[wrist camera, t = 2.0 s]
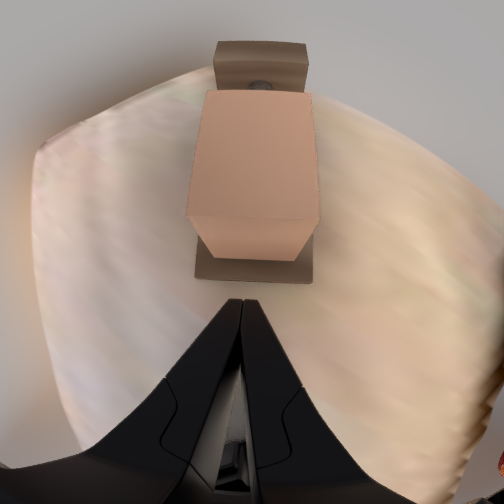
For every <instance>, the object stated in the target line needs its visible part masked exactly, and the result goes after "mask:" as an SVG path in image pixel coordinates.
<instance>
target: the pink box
mask: <svg viewBox="0 0 504 504" xmlns="http://www.w3.org/2000/svg"><path fill="white" fill-rule="evenodd" d="M186 217H187V218H188V220H189V221H190V223H191V224H192V226H193V227H194V229H195V230H196V232H197V233H198V235H199V236H200V238H201V239H202V240H203V242H204V243H205V245H206V246H207V248H208V249H209V251H210V252H211V254H212V255H213V257H214V258H230V259H254V260H279V261H294V260H295V259H296V257H297V256H298V254H299V253H300V251H301V250H302V248H303V247H304V245H305V243H306V242H307V240H308V239H309V237H310V236H311V234H312V232H313V231H314V229H315V228H316V226H317V225H318V223H319V221H320V207H319V186H318V169H317V155H316V143H315V132H314V121H313V112H312V103H311V94H310V93H300V92H287V91H270V90H210V91H207V94H206V98H205V103H204V108H203V113H202V118H201V123H200V128H199V133H198V139H197V144H196V150H195V156H194V162H193V168H192V174H191V181H190V188H189V195H188V202H187V209H186Z"/></svg>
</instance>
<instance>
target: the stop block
mask: <svg viewBox="0 0 504 504" xmlns="http://www.w3.org/2000/svg"><path fill="white" fill-rule="evenodd" d="M213 65H214V71H215V77H216V83H217V89H218V90H248V86H249V84H250V83H251V82H253V81H256V80H264V81H267V82H269V83H270V84H271V85H272V87H273V91H287V92H300V93H304V88H305V81H306V76H307V71H308V66H309V62H308V56H307V50H306V44H301V43H290V42H274V41H219V42H218V44H217V48H216V51H215V55H214V59H213ZM195 278H197V279H206V280H225V281H245V282H269V283H299V284H311V283H312V278H313V243H312V234H311V236H310V237H309V239H308V240H307V242H306V243H305V245H304V247H303V248H302V250H301V251H300V253H299V254H298V256H297V257H296V259H295V260H294V261H279V260H254V259H230V258H214V257H213V255H212V254H211V252H210V251H209V249H208V248H207V246H206V245H205V243H204V242H203V240H202V239H201V238H200V236H199V235H198V244H197V255H196V267H195Z"/></svg>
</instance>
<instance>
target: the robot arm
mask: <svg viewBox="0 0 504 504" xmlns="http://www.w3.org/2000/svg"><path fill="white" fill-rule="evenodd" d="M240 365H241V385H242V398H243V411H244V423H245V435H246V440H243V441H241V442H236V441H234V442H232V443H229V444H226V445H224V444H225V439H226V435H227V430H228V425H229V421H230V416H231V411H232V406H233V402H234V397H235V392H236V387H237V383H238V378H239V372H240ZM165 377H166V378H163V379H162V380H161V382H160V383H159V384H158V385H157V386H156V388H155V389H154V390H153V391H152V392H151V393H150V394H149V395H148V396H147V398H146V399H145V400H144V401H143V402H142V403H141V404H140V405H139V406H138V407H137V408H136V409H135V410H134V411H132V412H131V413H130V414H129V415H128V416H127V417H126V418H125V419H124V420H123V421H122V422H120V423H119V424H118V425H117V426H116V427H115V428H114V429H113V430H111V431H110V432H109V433H108V434H107V435H106V436H105V437H103V438H102V439H101V440H100V441H99V442H98V443H96V444H95V445H94V446H92V447H91V448H89V449H87V450H85V451H83V452H81V453H79V454H76V455H73V456H69V457H66V458H62V459H58V460H54V461H50V462H46V463H42V464H38V465H33V466H28V467H23V468H16V469H11V468H9V467H7V466H6V465H4V464H2V463H1V462H0V504H417V503H415V502H413V501H411V500H409V499H407V498H405V497H403V496H401V495H399V494H397V493H396V492H394V491H392V490H390V489H388V488H387V487H385V486H383V485H381V484H380V483H378V482H377V481H375V480H374V479H372V478H371V477H370V476H369V475H368V474H366V473H365V472H364V471H363V470H362V469H361V467H360V466H359V465H358V464H357V463H356V462H355V460H354V459H353V458H352V457H351V455H350V454H349V453H348V451H347V450H346V449H345V448H344V446H343V445H342V444H341V443H340V441H339V440H338V439H337V437H336V436H335V435H334V433H333V432H332V431H331V430H330V428H329V427H328V425H327V424H326V423H325V421H324V420H323V418H322V417H321V415H320V414H319V412H318V411H317V409H316V407H315V406H314V404H313V402H312V401H311V399H310V397H309V395H308V393H307V392H306V390H305V388H304V387H303V384H302V383H301V381H300V379H299V377H298V375H297V373H296V371H295V370H294V368H293V366H292V364H291V362H290V360H289V358H288V356H287V355H286V353H285V351H284V349H283V347H282V345H281V343H280V341H279V339H278V338H277V336H276V334H275V332H274V330H273V328H272V326H271V324H270V322H269V320H268V319H267V317H266V315H265V313H264V311H263V309H262V307H261V305H260V303H259V301H258V300H253V299H245V300H244V301H243V300H242V299H232V298H231V299H228V300H227V302H226V303H225V304H224V305H223V307H222V308H221V309H220V310H219V311H218V313H217V314H216V315H215V316H214V318H213V319H212V320H211V321H210V322H209V324H208V325H207V326H206V327H205V329H204V330H203V331H202V332H201V333H200V335H199V336H198V337H197V338H196V339H195V341H194V342H193V343H192V344H191V346H190V347H189V348H188V349H187V350H186V352H185V353H184V354H183V355H182V356H181V358H180V359H179V360H178V361H177V362H176V364H175V365H174V366H173V367H172V368H171V370H170V371H169V372H168V373H167V375H166V376H165ZM464 504H504V488H503V489H501V490H499V491H497V492H496V493H494V494H492V495H490V496H489V497H487V498H478V499H475V500H472V501H470V502H467V503H464Z"/></svg>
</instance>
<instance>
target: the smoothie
mask: <svg viewBox="0 0 504 504" xmlns="http://www.w3.org/2000/svg"><path fill="white" fill-rule="evenodd" d="M498 469H499V471H500V473H501V476H503V477H504V452H503V454H502V456H501V458H500V461H499V464H498Z"/></svg>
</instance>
